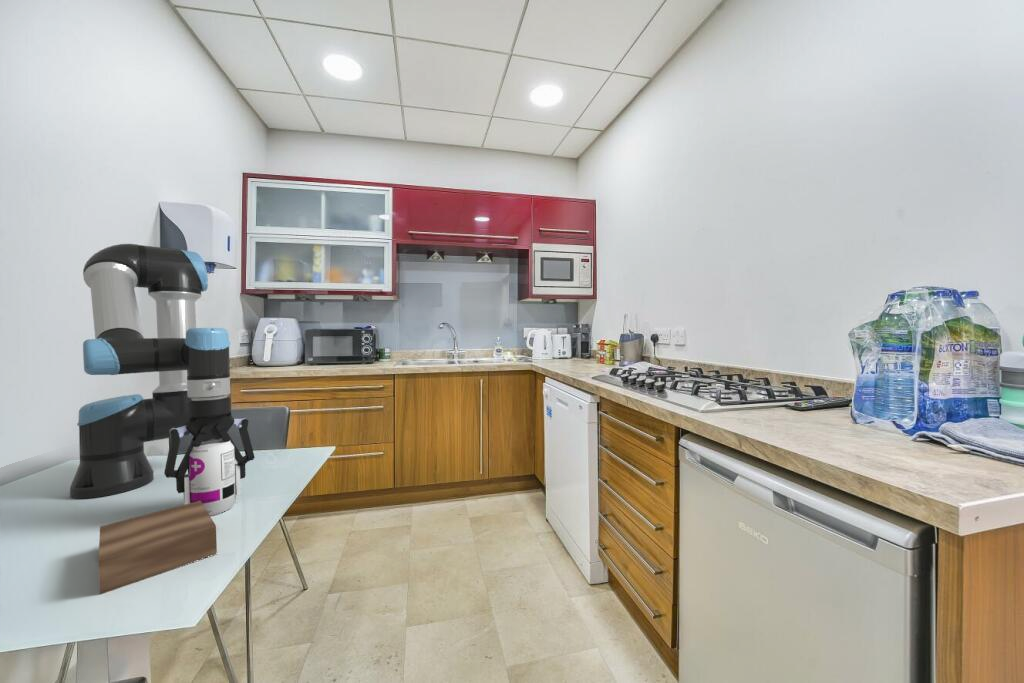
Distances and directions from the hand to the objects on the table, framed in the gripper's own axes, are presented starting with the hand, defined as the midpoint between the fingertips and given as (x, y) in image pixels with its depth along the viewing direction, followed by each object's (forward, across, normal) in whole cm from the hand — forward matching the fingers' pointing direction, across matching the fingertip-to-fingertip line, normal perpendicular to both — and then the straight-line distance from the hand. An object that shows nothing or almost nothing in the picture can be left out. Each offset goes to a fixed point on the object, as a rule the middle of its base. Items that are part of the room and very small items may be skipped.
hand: (213, 499), depth 85 cm
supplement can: (+2, 0, 0) cm, 2 cm away
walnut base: (+2, -10, -15) cm, 18 cm away
